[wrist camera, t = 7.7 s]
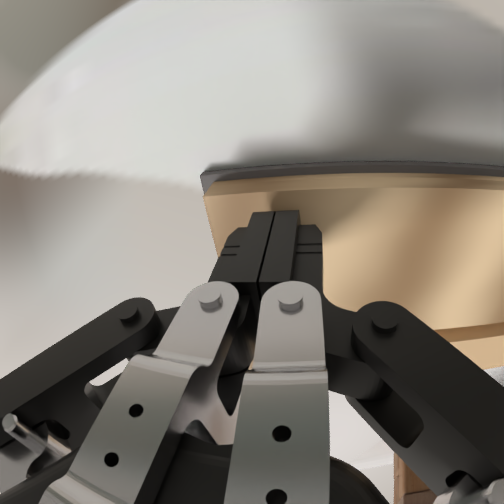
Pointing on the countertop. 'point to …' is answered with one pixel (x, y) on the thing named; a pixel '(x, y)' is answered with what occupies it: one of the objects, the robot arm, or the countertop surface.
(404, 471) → the wooden block
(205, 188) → the floor section
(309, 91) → the countertop surface
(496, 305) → the board
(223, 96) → the countertop surface
